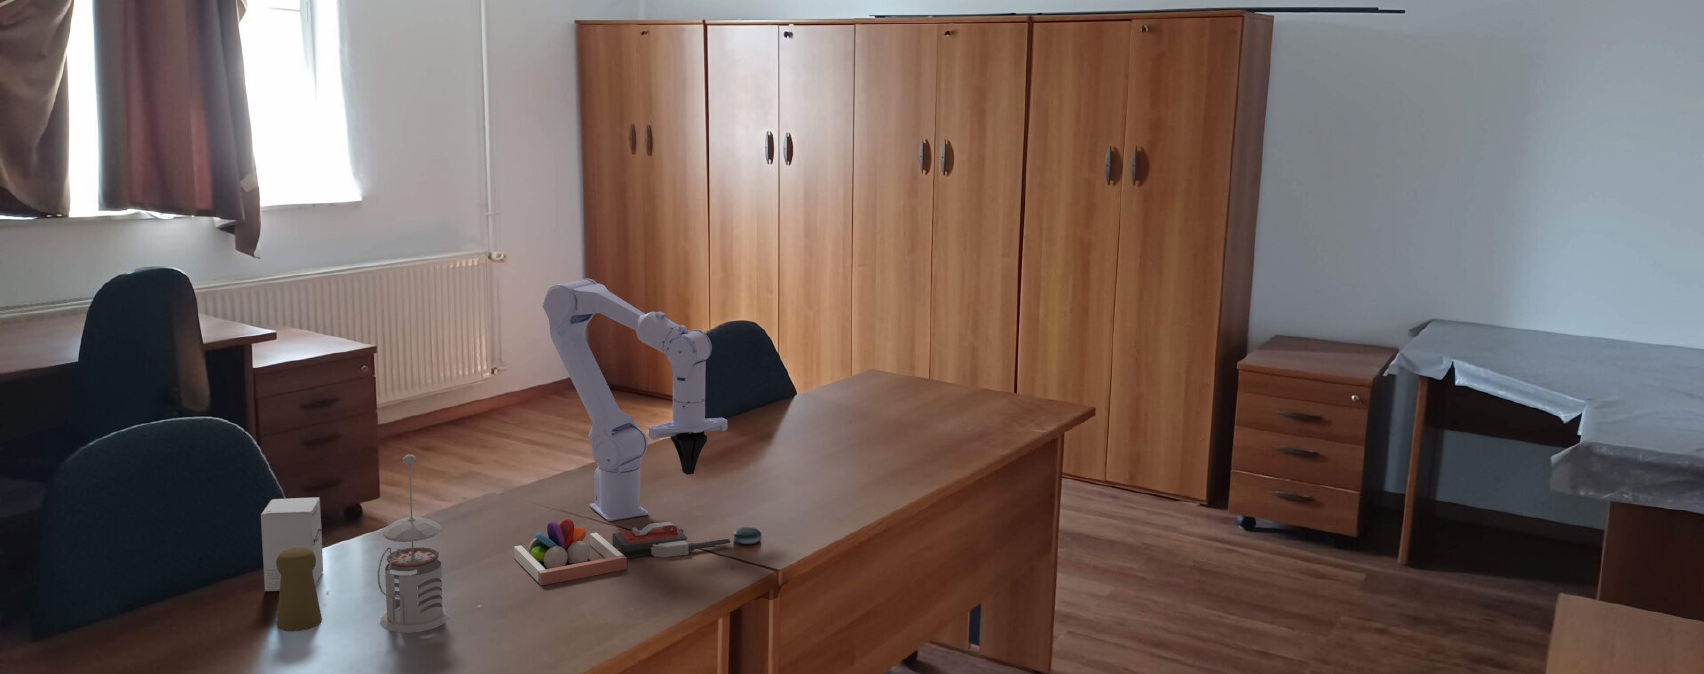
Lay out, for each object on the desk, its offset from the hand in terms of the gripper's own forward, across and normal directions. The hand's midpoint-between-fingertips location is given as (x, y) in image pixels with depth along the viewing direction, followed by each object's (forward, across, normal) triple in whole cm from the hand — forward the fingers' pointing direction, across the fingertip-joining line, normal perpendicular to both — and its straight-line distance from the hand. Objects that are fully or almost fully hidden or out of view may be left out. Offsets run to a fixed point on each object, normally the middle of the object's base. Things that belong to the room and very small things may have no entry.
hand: (688, 472), depth 223 cm
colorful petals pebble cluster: (+10, -26, -6) cm, 29 cm away
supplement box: (+10, -65, +5) cm, 66 cm away
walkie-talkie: (+11, -8, -8) cm, 16 cm away
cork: (+10, -67, -11) cm, 69 cm away
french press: (+10, -53, -18) cm, 57 cm away
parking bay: (+10, -25, -7) cm, 28 cm away
